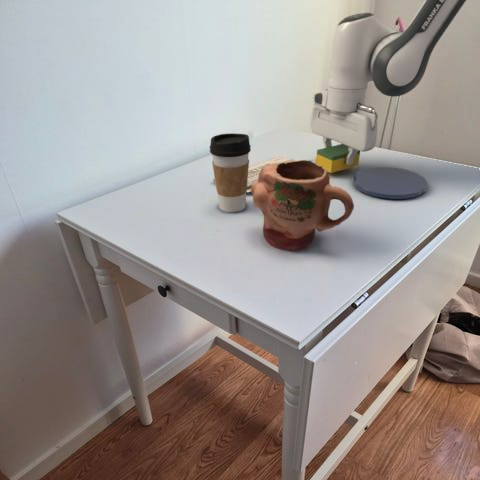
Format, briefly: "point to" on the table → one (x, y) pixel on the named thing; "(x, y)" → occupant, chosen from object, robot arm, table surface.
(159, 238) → the table surface
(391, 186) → the plate
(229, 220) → the table surface
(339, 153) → the sponge
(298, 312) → the table surface
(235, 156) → the coffee cup
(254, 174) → the newspaper
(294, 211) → the sculpted ceramic mug
